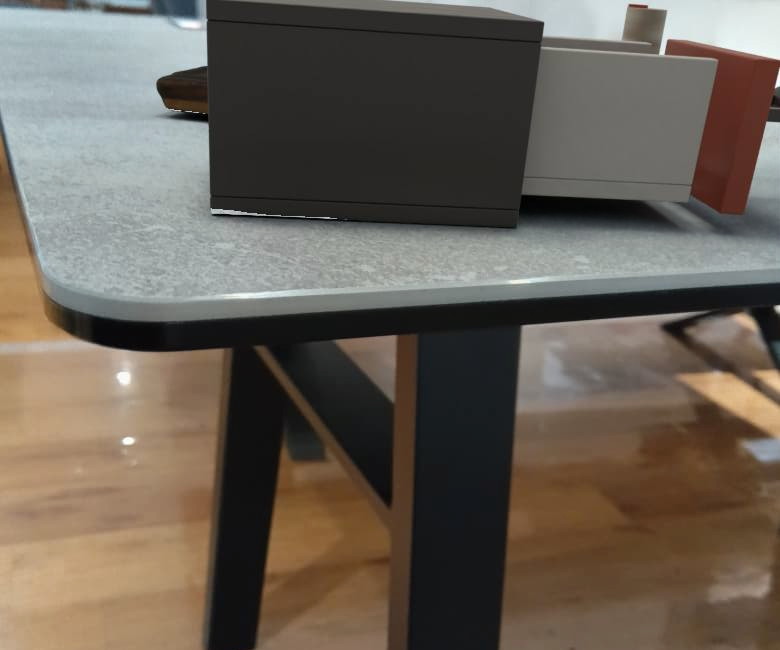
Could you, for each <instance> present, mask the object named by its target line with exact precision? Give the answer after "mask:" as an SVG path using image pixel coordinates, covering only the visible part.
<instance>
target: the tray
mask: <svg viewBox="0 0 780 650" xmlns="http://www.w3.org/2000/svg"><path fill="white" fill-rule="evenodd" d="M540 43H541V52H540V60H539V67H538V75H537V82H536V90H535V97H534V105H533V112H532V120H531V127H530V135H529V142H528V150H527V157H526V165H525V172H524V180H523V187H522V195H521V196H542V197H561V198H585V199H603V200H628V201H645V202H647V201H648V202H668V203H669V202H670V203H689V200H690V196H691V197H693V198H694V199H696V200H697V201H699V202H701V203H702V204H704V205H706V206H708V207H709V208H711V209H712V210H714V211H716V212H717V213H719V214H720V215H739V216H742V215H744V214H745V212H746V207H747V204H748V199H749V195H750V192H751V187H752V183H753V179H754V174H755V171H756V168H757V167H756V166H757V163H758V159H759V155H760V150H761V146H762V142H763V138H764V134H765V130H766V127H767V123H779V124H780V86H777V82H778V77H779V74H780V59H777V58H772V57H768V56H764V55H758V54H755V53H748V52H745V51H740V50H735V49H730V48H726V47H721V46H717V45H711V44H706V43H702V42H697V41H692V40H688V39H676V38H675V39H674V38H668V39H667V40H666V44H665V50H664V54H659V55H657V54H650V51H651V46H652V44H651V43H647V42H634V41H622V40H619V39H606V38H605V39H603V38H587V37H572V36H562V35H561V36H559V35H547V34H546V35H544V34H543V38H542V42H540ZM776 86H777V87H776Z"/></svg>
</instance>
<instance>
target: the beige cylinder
mask: <svg viewBox="0 0 780 650" xmlns="http://www.w3.org/2000/svg"><path fill="white" fill-rule="evenodd" d="M667 16H668V10H667V9H663V8H651V7H649V4H636V3H628V4H627V7H626V12H625V17H624V23H623V29H622V37H621V41H634V42H647V43H651V44H652V46H651V51H650V54H657V55H660V53H661V47H662V42H663V36H664V31H665V25H666V20H667Z"/></svg>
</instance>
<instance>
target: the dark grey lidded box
mask: <svg viewBox="0 0 780 650" xmlns="http://www.w3.org/2000/svg"><path fill="white" fill-rule="evenodd" d="M205 18H206V22H205V23H206V24H205V25H206V64H207V65H206V66H207V75H208V115H207V116H208V166H209V167H208V169H209V173H208V174H209V196H210V197H209V209H210V208H212V209H223V210H234V211H241V212H247V213H257V214H266V215H281V216H305V217H330V218H337V219H347V220H346V221H350V220H359V221H358V222H373V221H377V222H376V223H396V222H397V223H398V224H420V225H421V224H422V225H445V226H446V225H447V226H468V227H493V228H513V229H516V228H518V226H519V217H520V208H521V201H522V196H523V195H522V187H523V180H524V172H525V165H526V157H527V150H528V142H529V135H530V127H531V120H532V112H533V105H534V97H535V90H536V82H537V75H538V67H539V60H540V52H541V43H540V42H542V38H543V35H544V28H545V21H544V20H539V19H536V18H532V17H528V16H524V15H519V14H516V13H512V12H508V11H504V10H501V9H496V8H493V7H489V6H474V5H463V4H462V5H461V4H446V3H433V2H432V3H431V2H420V1H419V2H418V1H403V0H205ZM379 221H380V222H379Z"/></svg>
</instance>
